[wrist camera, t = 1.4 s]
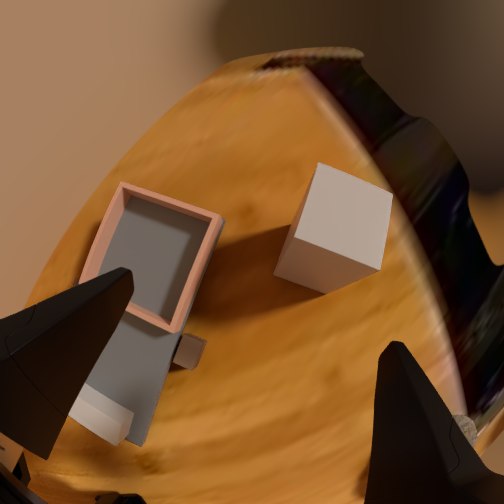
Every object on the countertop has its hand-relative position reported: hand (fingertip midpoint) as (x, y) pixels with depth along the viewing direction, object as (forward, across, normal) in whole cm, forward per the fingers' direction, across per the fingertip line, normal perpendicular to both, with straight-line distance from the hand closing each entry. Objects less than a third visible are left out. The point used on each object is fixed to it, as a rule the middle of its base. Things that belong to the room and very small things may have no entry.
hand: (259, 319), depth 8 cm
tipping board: (+6, +10, +11) cm, 16 cm away
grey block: (+15, -3, +6) cm, 16 cm away
